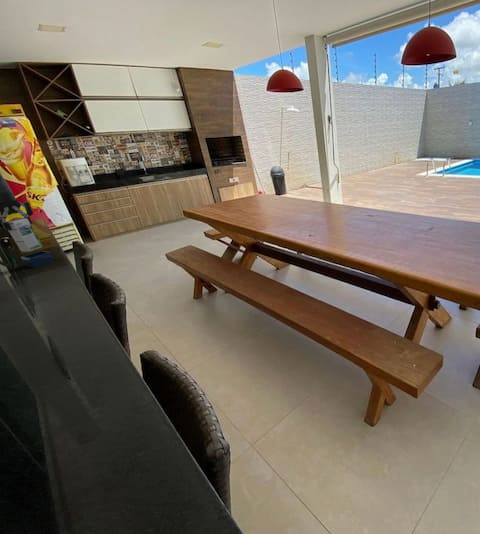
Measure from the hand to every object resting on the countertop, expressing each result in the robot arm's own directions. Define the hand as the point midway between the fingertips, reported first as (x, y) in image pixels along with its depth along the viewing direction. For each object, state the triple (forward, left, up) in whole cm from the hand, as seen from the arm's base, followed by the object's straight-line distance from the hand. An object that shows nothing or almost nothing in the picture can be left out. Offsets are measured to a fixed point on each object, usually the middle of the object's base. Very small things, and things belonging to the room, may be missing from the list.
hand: (19, 227), depth 141 cm
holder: (0, 0, -18) cm, 18 cm away
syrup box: (0, 0, -11) cm, 11 cm away
